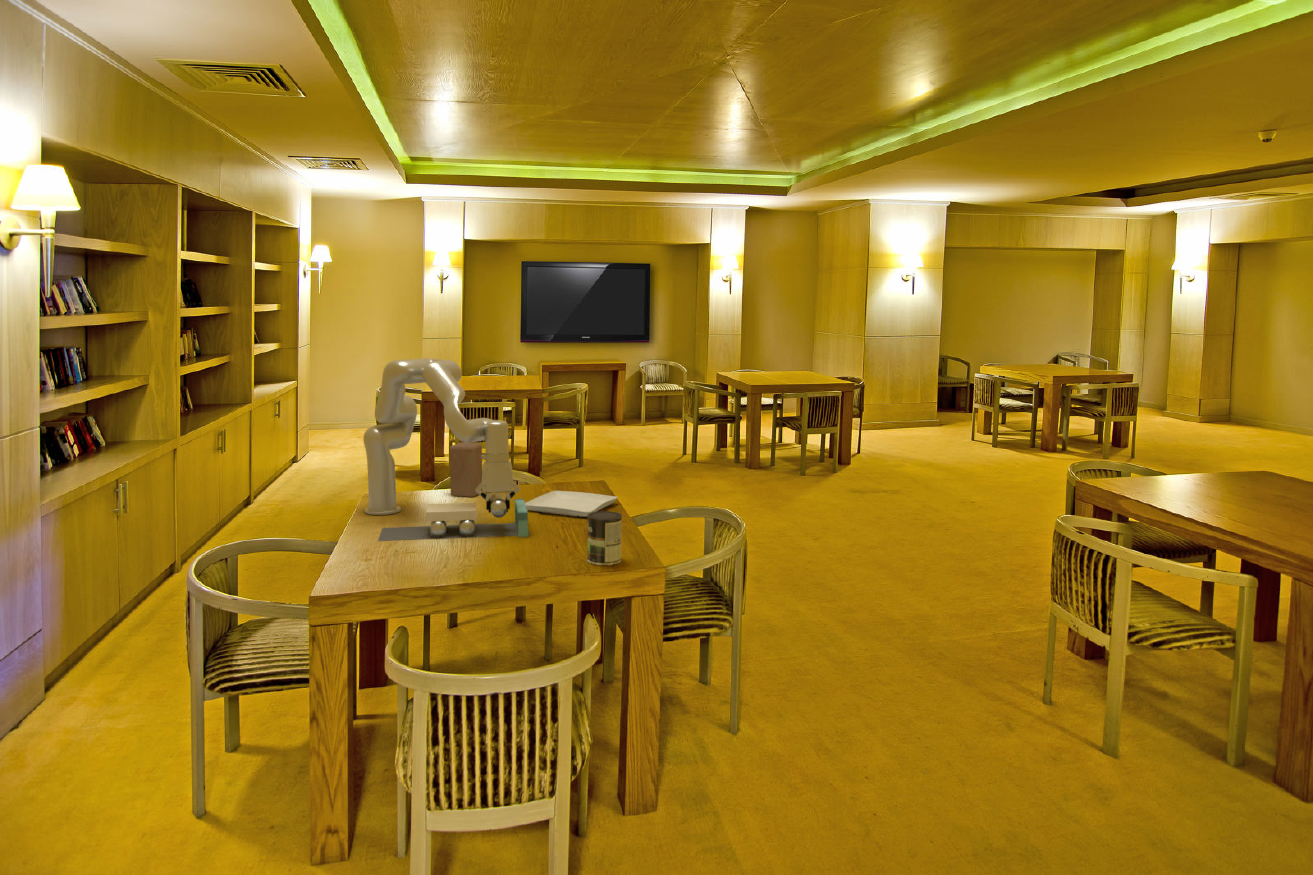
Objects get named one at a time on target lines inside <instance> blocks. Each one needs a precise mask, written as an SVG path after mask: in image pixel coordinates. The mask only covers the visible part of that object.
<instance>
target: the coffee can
mask: <svg viewBox="0 0 1313 875" xmlns="http://www.w3.org/2000/svg"><path fill="white" fill-rule="evenodd" d="M622 518H623V514H621V513H619V512H616V511H610V510H609V511H606V510H598V511H597V512H592V513H589V514H588V515H587V559H586V560H587V563H589V564H591V563H592V564H591V565H594V564H595V566H602V565H607V566H614V565H613V564H615V565H617V564H616V563H618V564H620V563H621V562H622Z"/></svg>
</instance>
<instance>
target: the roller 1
mask: <svg viewBox="0 0 1313 875" xmlns="http://www.w3.org/2000/svg"><path fill="white" fill-rule="evenodd" d="M447 522H448V521H430V526H431V527H430V533H431V535H432V536H433V537H434V538H442V537H443V536H444V535H445V533H446V526H447Z"/></svg>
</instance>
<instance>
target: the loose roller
mask: <svg viewBox="0 0 1313 875" xmlns="http://www.w3.org/2000/svg"><path fill="white" fill-rule="evenodd" d="M505 499H506V497H505V496H504V495H503V493H502V492H500V493H491V495H490V500H491V512H490V513H491V515H492V516H493V517H495V518H497V519H501V518H503V517H505V516H506V514H507V513H508V512H507V508H506V503H505Z"/></svg>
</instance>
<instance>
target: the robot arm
mask: <svg viewBox="0 0 1313 875" xmlns="http://www.w3.org/2000/svg"><path fill="white" fill-rule="evenodd" d="M461 378H462V369H461V367H460V365H459V364H458V363H457V362H456V361H454V360H451V359H439V358H438V359H437V358H410V359H408V358H407V359H396V360H392V361H389V362H388V363H387V364H386V365H385V367H384V368H383V373H382V378H381V385H380V389H379V393H378V396H377V401H376V405H375V409H374V418H375V420H376V421H377V422H378V423H379V424H377V425H373V426H370V427H369V428H367V429H366V430H365V432H364V434H363V445H364V449H365V454H366V461H367V462H366V463H367V468H366V469H367V485H368V486H367V488H368V493H367V494H368V506H367V507H365V508H364V513H366V514H367V515H373V516H385V515H393V514H397V513H400V512H401V510H402V508H401V507H402V506H400V505H397V491H396V490H397V488H396V462H395V459H394V457H393V455H392V453H391V450H397V449H402V448H404V447H407V445H408V444H409V442H410V440H411V437H412V435H413V431H414V426H415V423H416V420H417V416H418V407H417V403H416V401H415V400H414V399H413V398H412V397H411V396H408V395H406V385H412V384H422V383H426V385H427V386H428V387H429V388H430V390H431V391H432V393H433V394H434V395H435V396H436V398H437V399H438V400H439V401H440V403H441V404H442V405H443V417H444V421H445V424H446V426H447V428H448V429H449V430H450V431H451V433H452V434H453V435H454V437H456V439H458V440H459V441H460V442H461V443H476V442H482V441H484V442H485V444H484V446H485V453H484V454H482V455H481V459H482V460H485V461H484V462H483V463H482V482H481V483H480V484H479V486H478V487H477V488H476V490H475V491H476V492H477V493H478V495H479V496H481V497H482V498H483V499H484V500H485V503H486V505H485V506H486V508H485V509H486V511H488V513H489V514H490V513H492V512H491V500H490V497H491V495H492V494H494V493H504V495H505V503H506V508H507V512H506V513H509V510H510V509H511V499H512V498H513V497H514V496H515V495H516V494H517V493H518V492H520V490H521V488H520V487H519V485H518V484H517V483H516V482H515V480H514V472H513V464H512V461H511V460H510V459H509V457H510V455H509V454H510V453H509V451H510V450H509V425H508V424H509V423H508V422H507V421H506V420H500V419H495V420H494V419H491V418H488V417H479V418H472V419H467V418H465V416H464V415H463V413H462V412H461V411H460V408H459V405H460V404H461V403H462V402H463V400H465V399H464V398H465V396H466V392H465V389H464V388H463V387H462V386H461V385H460V384H459V381H460V380H461ZM481 489H483V491H481Z"/></svg>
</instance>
